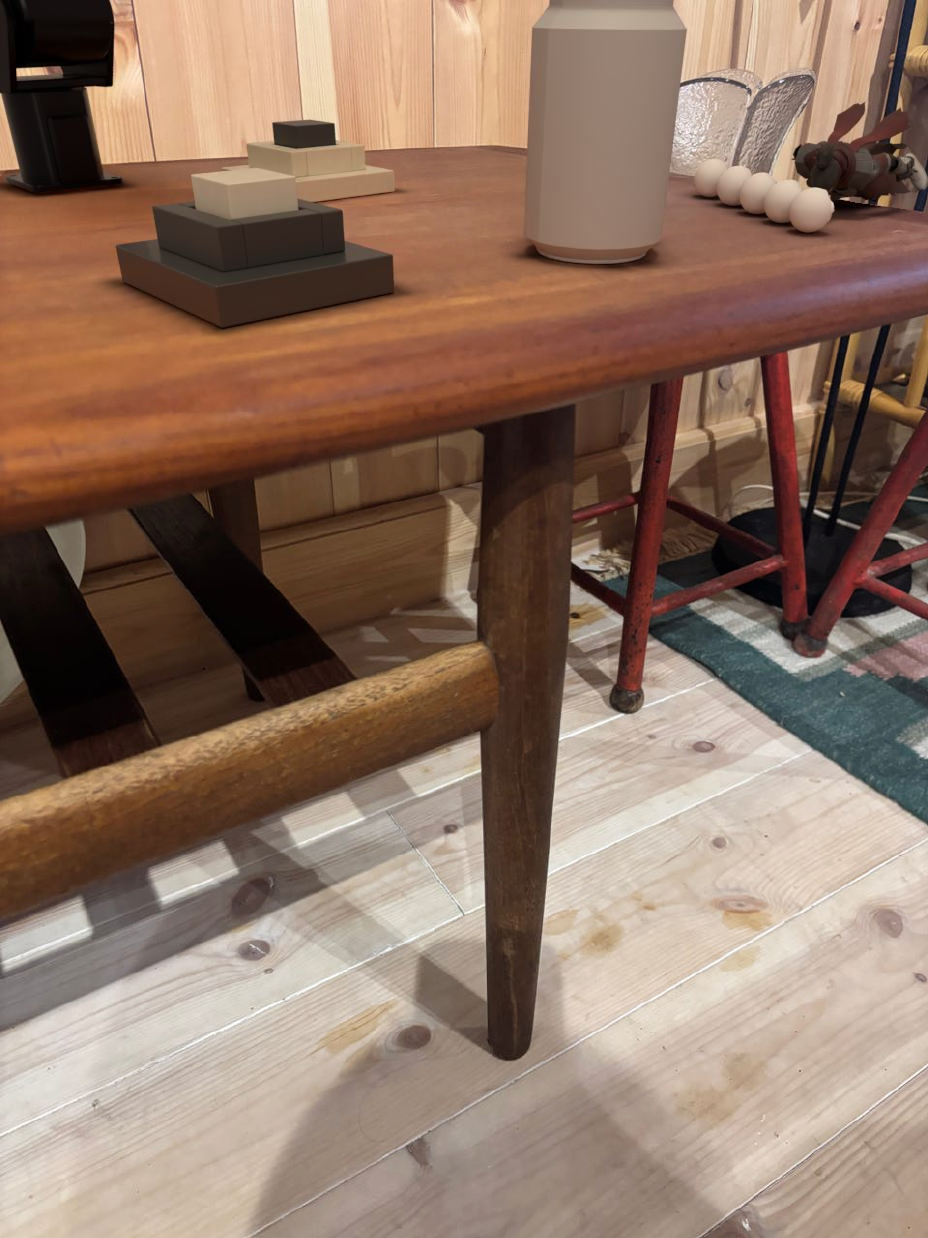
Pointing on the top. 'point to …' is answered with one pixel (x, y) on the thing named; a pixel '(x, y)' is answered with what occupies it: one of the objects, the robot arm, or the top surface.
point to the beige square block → (244, 193)
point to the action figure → (860, 160)
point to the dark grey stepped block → (253, 263)
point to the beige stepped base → (322, 169)
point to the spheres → (765, 195)
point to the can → (601, 127)
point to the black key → (304, 134)
